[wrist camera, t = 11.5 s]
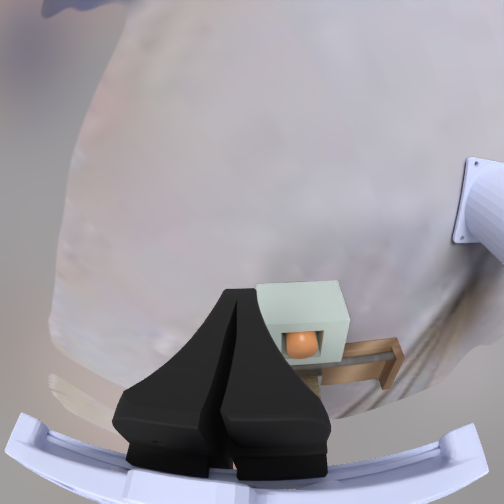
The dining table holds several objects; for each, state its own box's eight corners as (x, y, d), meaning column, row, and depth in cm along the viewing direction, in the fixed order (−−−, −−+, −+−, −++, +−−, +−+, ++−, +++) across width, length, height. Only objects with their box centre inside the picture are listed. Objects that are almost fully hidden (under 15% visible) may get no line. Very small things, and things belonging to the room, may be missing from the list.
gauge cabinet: (337, 280, 24) (350, 319, 20) (331, 323, 27) (340, 363, 23) (256, 283, 25) (254, 325, 20) (259, 327, 27) (258, 367, 23)
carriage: (321, 368, 28) (327, 410, 24) (317, 385, 30) (322, 425, 25) (278, 370, 29) (279, 414, 24) (278, 388, 30) (278, 428, 26)
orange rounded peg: (314, 311, 23) (319, 338, 20) (312, 331, 24) (316, 358, 22) (285, 313, 23) (286, 340, 21) (284, 333, 24) (286, 359, 22)
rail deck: (396, 337, 28) (404, 357, 25) (383, 369, 31) (389, 388, 28) (261, 348, 29) (260, 371, 26) (263, 380, 32) (263, 400, 29)
